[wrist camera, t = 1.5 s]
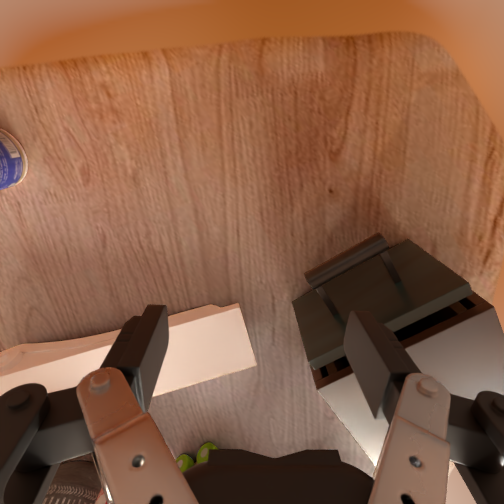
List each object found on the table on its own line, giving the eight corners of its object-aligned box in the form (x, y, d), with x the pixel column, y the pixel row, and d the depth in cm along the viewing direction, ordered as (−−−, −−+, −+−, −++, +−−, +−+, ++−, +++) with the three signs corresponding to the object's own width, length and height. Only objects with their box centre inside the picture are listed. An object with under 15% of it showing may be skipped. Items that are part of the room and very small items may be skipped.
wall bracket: (232, 276, 38) (11, 339, 37) (235, 292, 31) (-41, 371, 29) (253, 347, 40) (41, 410, 38) (259, 378, 33) (-1, 457, 31)
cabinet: (295, 313, 34) (316, 389, 25) (416, 248, 31) (494, 306, 22) (352, 394, 40) (387, 482, 30) (459, 345, 37) (537, 426, 27)
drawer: (267, 267, 31) (276, 319, 23) (389, 196, 28) (448, 228, 20) (348, 382, 38) (377, 454, 30) (451, 334, 35) (514, 399, 27)
